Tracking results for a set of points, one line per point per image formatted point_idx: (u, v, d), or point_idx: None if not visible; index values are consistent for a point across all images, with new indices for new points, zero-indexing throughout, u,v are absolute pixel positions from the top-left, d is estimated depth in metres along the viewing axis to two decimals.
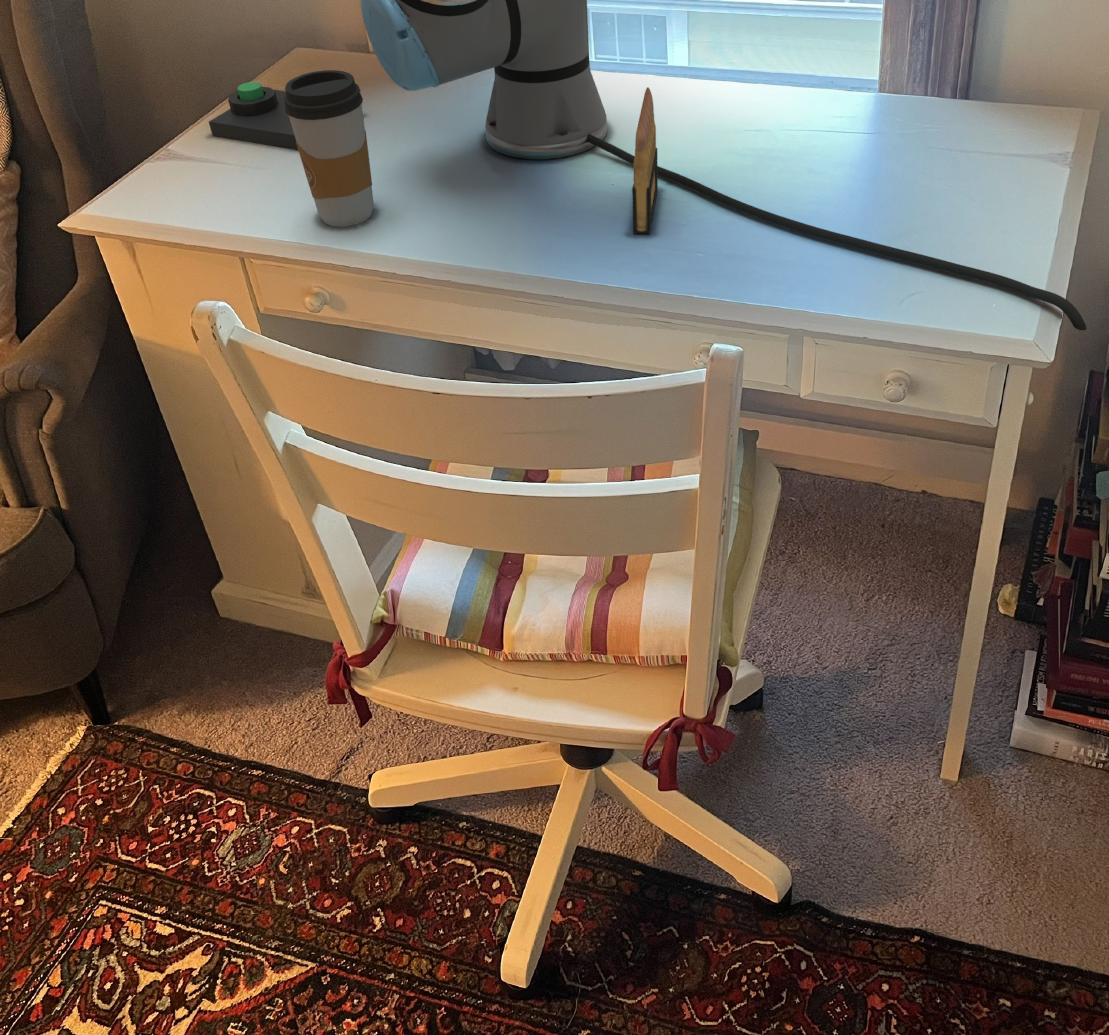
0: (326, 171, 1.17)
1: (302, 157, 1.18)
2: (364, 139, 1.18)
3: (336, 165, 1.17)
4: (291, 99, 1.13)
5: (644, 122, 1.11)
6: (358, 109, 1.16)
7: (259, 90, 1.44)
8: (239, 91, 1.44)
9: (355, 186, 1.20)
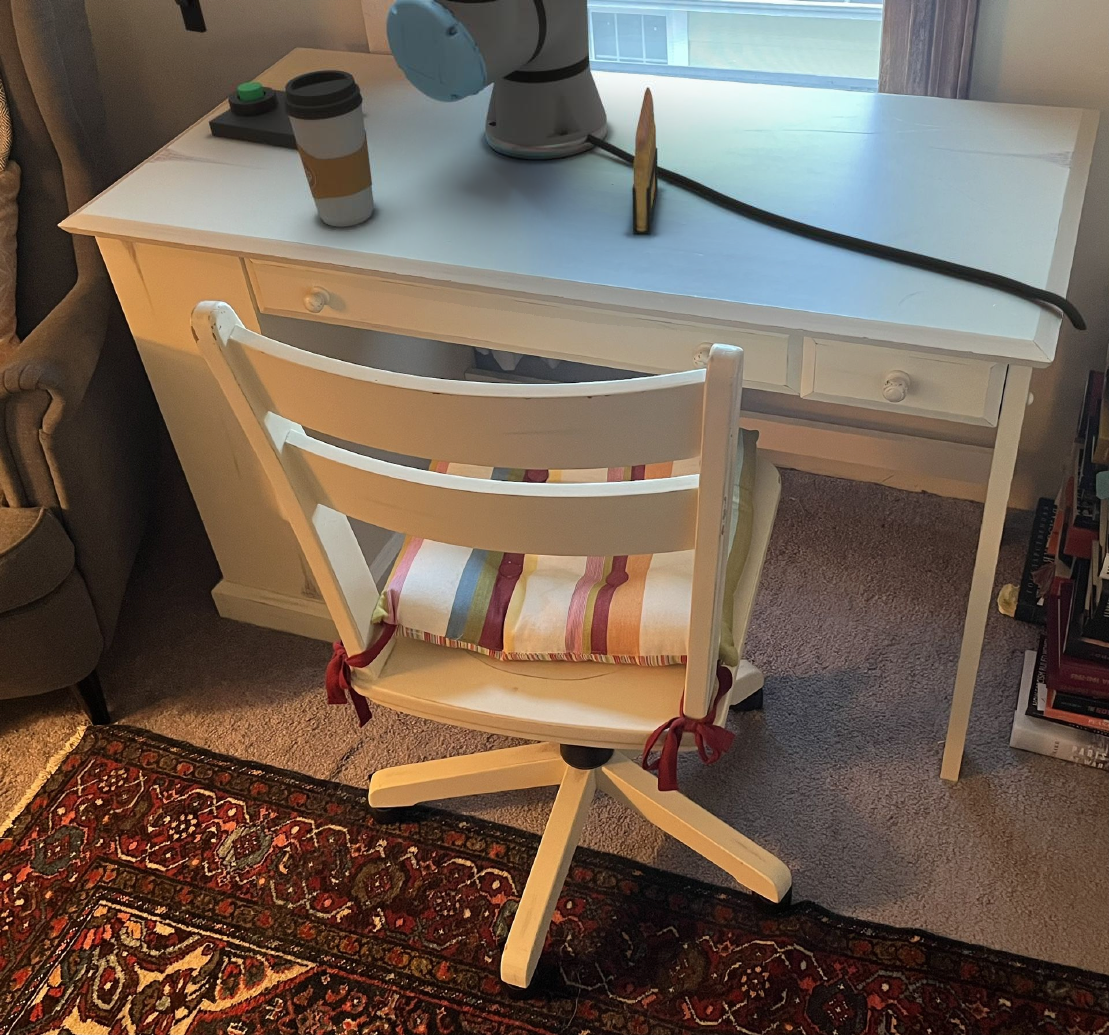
0: (326, 171, 1.17)
1: (302, 157, 1.18)
2: (364, 139, 1.18)
3: (336, 165, 1.17)
4: (291, 99, 1.13)
5: (644, 122, 1.11)
6: (358, 109, 1.16)
7: (259, 90, 1.44)
8: (239, 91, 1.44)
9: (355, 186, 1.20)
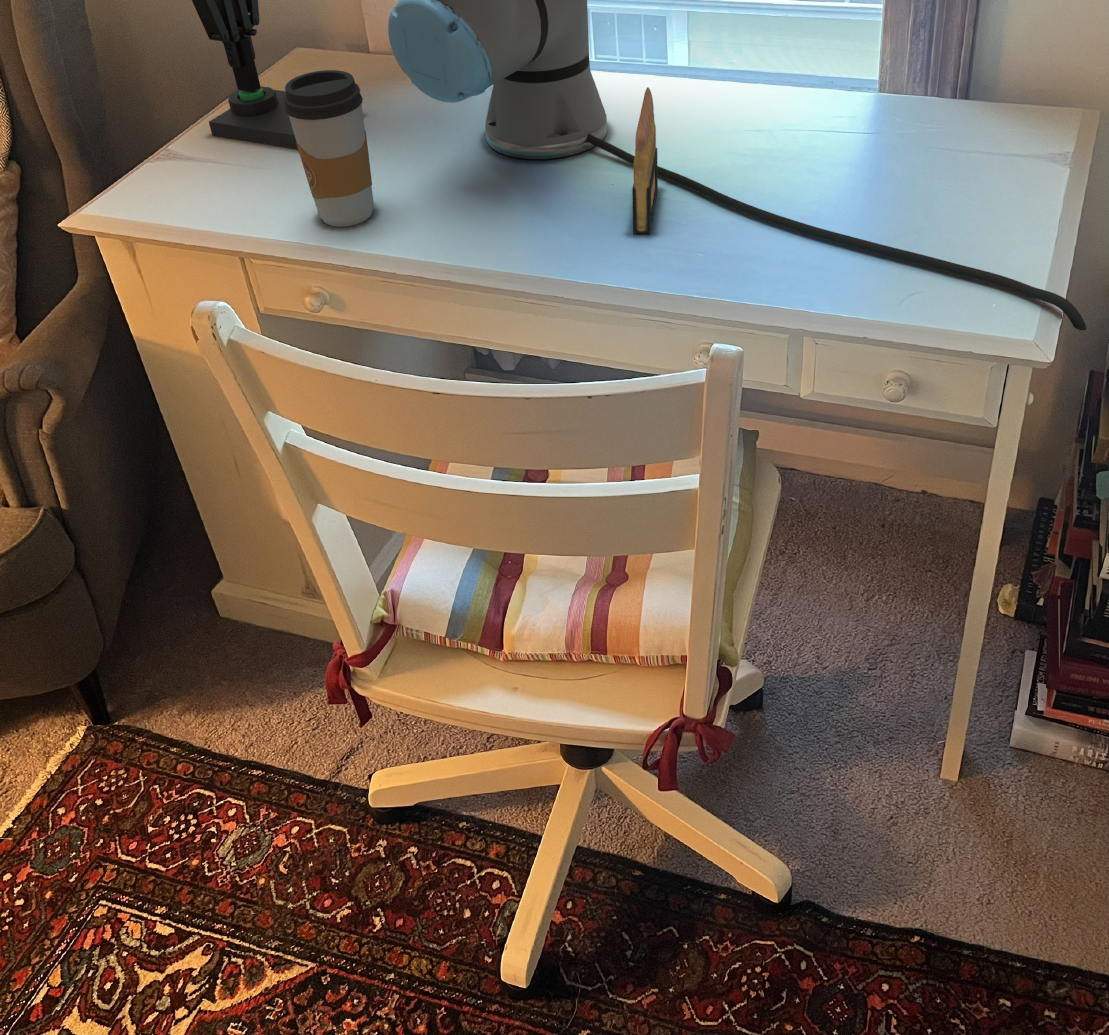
0: (326, 171, 1.17)
1: (302, 157, 1.18)
2: (364, 139, 1.18)
3: (336, 165, 1.17)
4: (291, 99, 1.13)
5: (644, 122, 1.11)
6: (358, 109, 1.16)
7: (260, 95, 1.44)
8: (240, 96, 1.44)
9: (355, 186, 1.20)
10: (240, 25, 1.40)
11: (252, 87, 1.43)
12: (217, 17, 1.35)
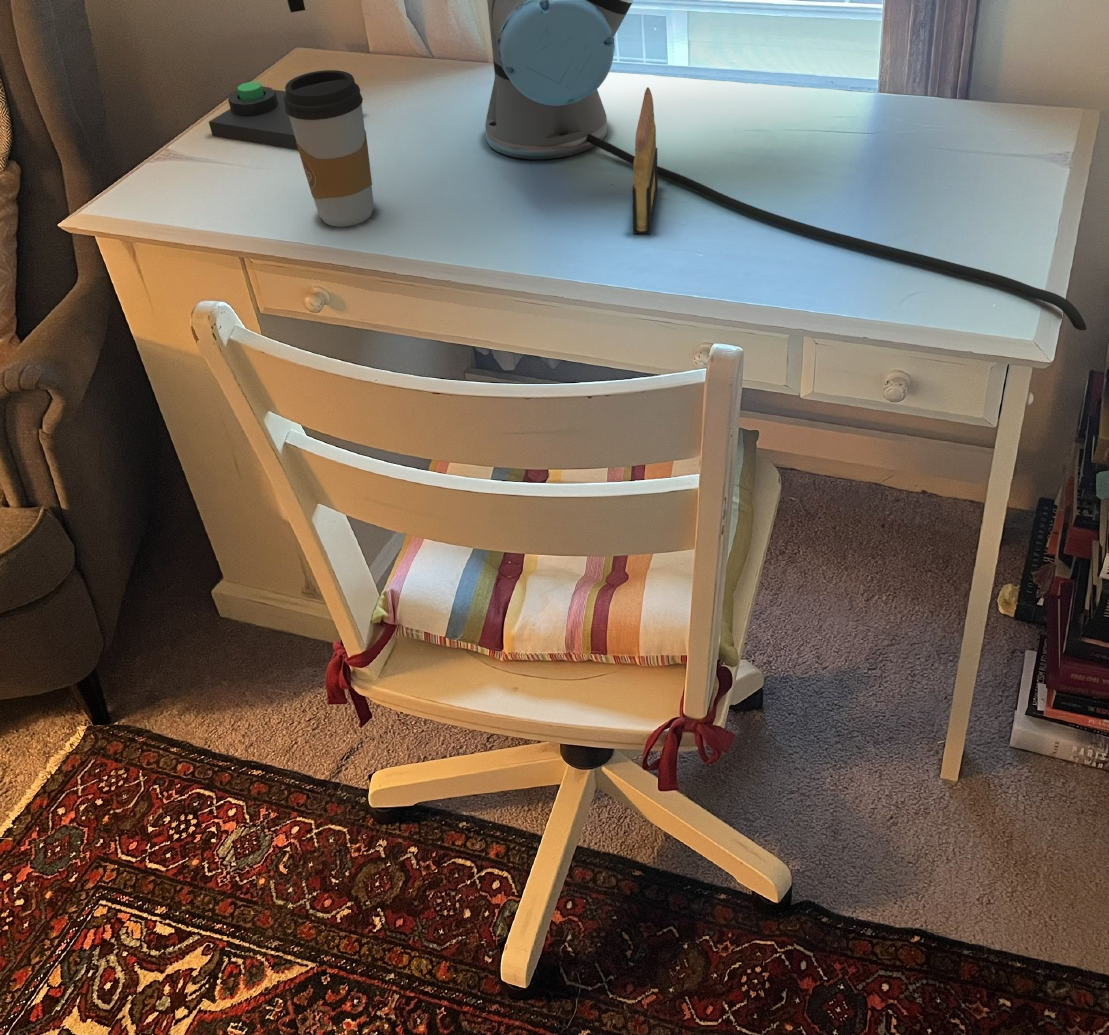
0: (326, 171, 1.17)
1: (302, 157, 1.18)
2: (364, 139, 1.18)
3: (336, 165, 1.17)
4: (291, 99, 1.13)
5: (644, 122, 1.11)
6: (358, 109, 1.16)
7: (259, 90, 1.44)
8: (239, 91, 1.44)
9: (355, 186, 1.20)
10: None
11: (289, 6, 1.10)
12: None
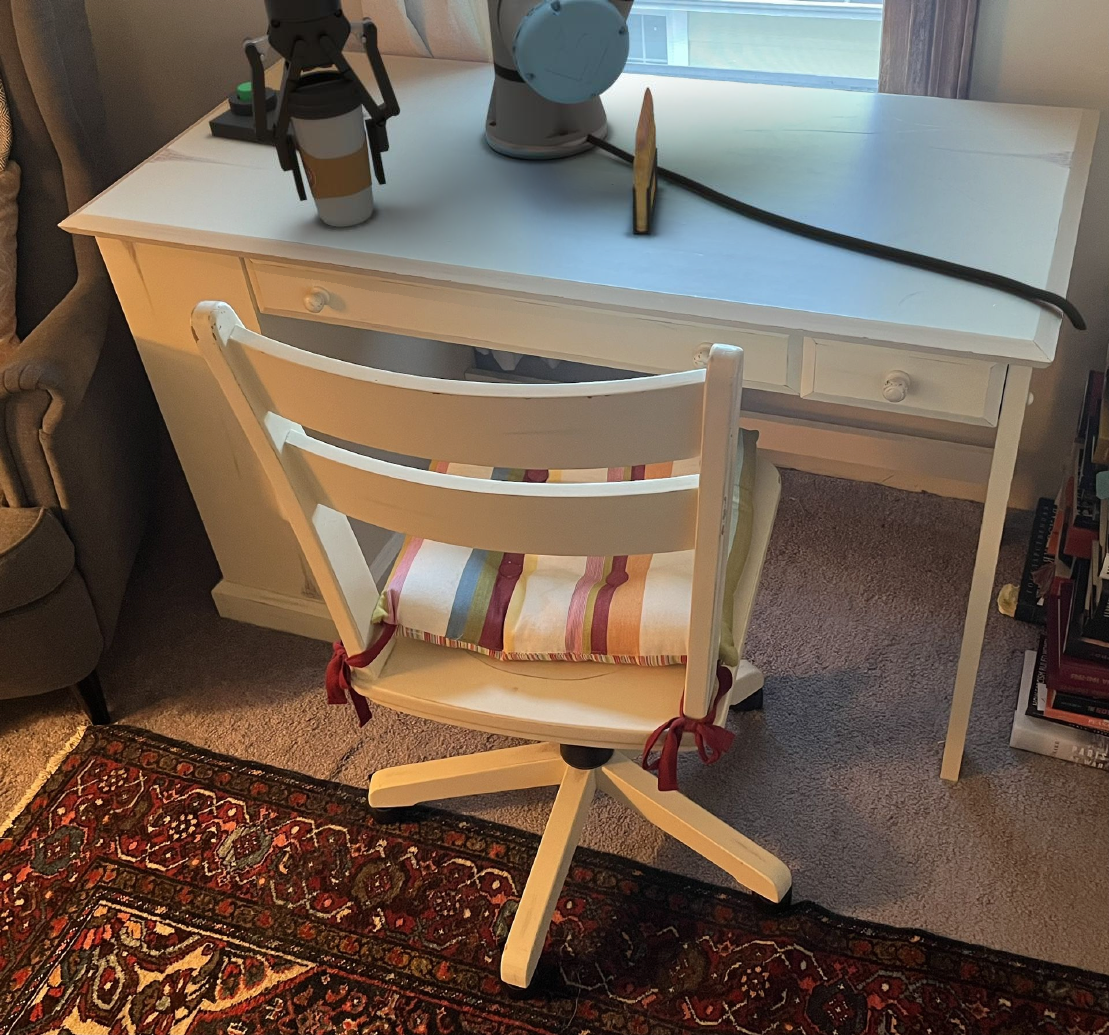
0: (326, 171, 1.17)
1: (302, 157, 1.18)
2: (364, 139, 1.18)
3: (336, 165, 1.17)
4: (291, 99, 1.13)
5: (644, 122, 1.11)
6: (358, 109, 1.16)
7: None
8: (239, 91, 1.44)
9: (355, 186, 1.20)
10: None
11: (299, 195, 1.20)
12: (259, 111, 1.13)
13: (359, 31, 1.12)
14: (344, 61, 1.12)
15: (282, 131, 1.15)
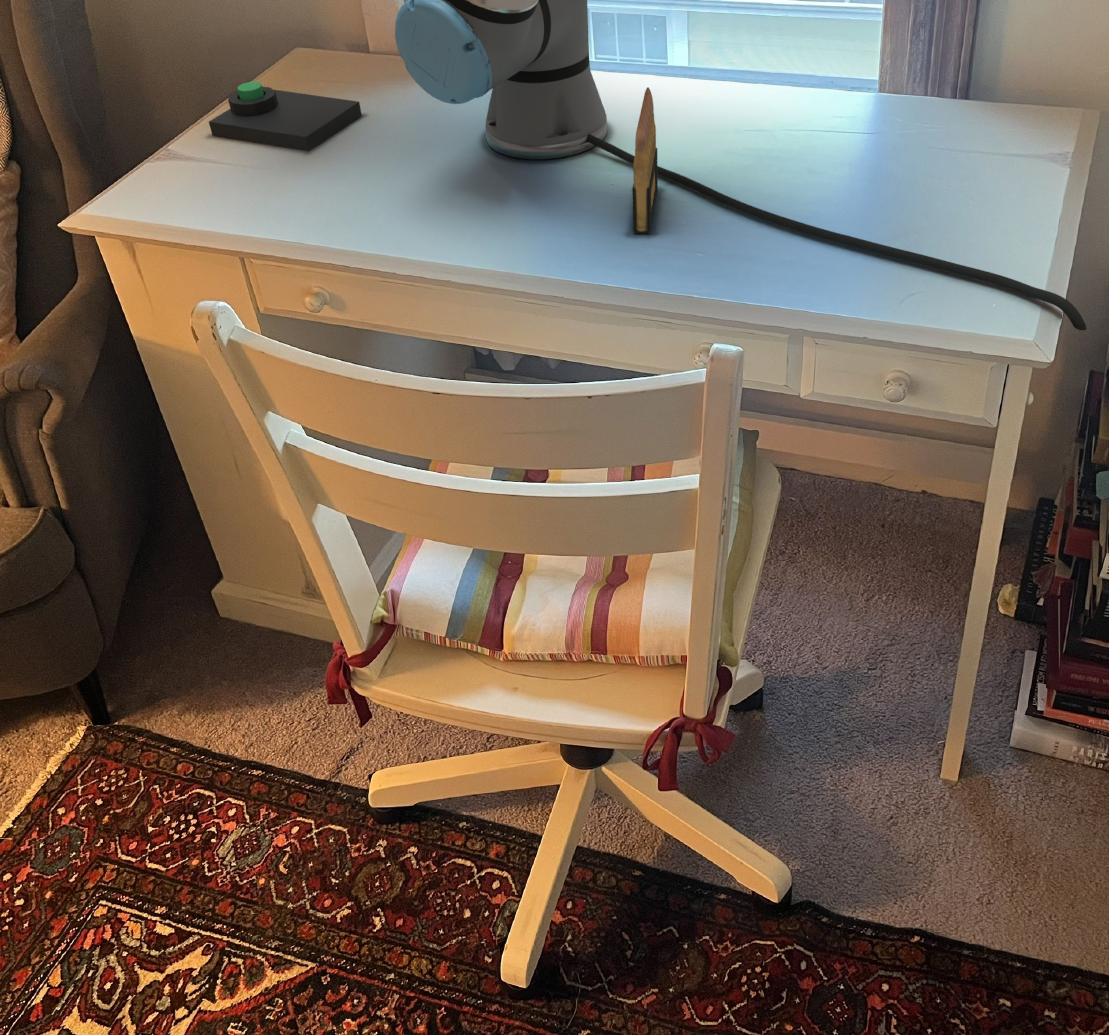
0: None
1: None
2: None
3: None
4: None
5: (644, 122, 1.11)
6: None
7: (259, 90, 1.44)
8: (239, 91, 1.44)
9: None
10: None
11: None
12: None
13: None
14: None
15: None
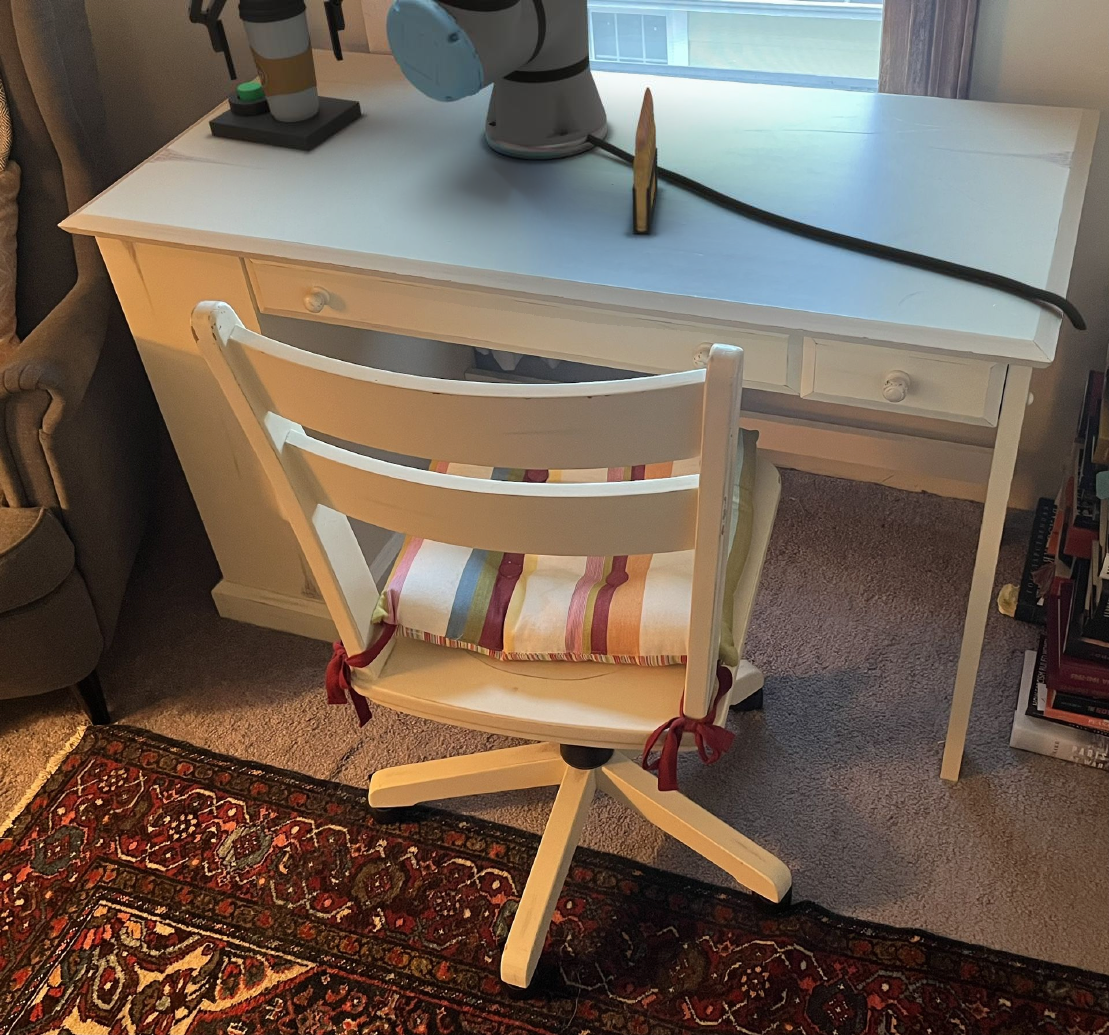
0: (275, 69, 1.36)
1: (255, 58, 1.37)
2: (308, 43, 1.37)
3: (284, 64, 1.36)
4: (243, 5, 1.32)
5: (644, 122, 1.11)
6: (302, 15, 1.34)
7: (259, 90, 1.44)
8: (239, 91, 1.44)
9: (301, 85, 1.38)
10: None
11: (230, 75, 1.37)
12: None
13: None
14: None
15: (214, 15, 1.32)
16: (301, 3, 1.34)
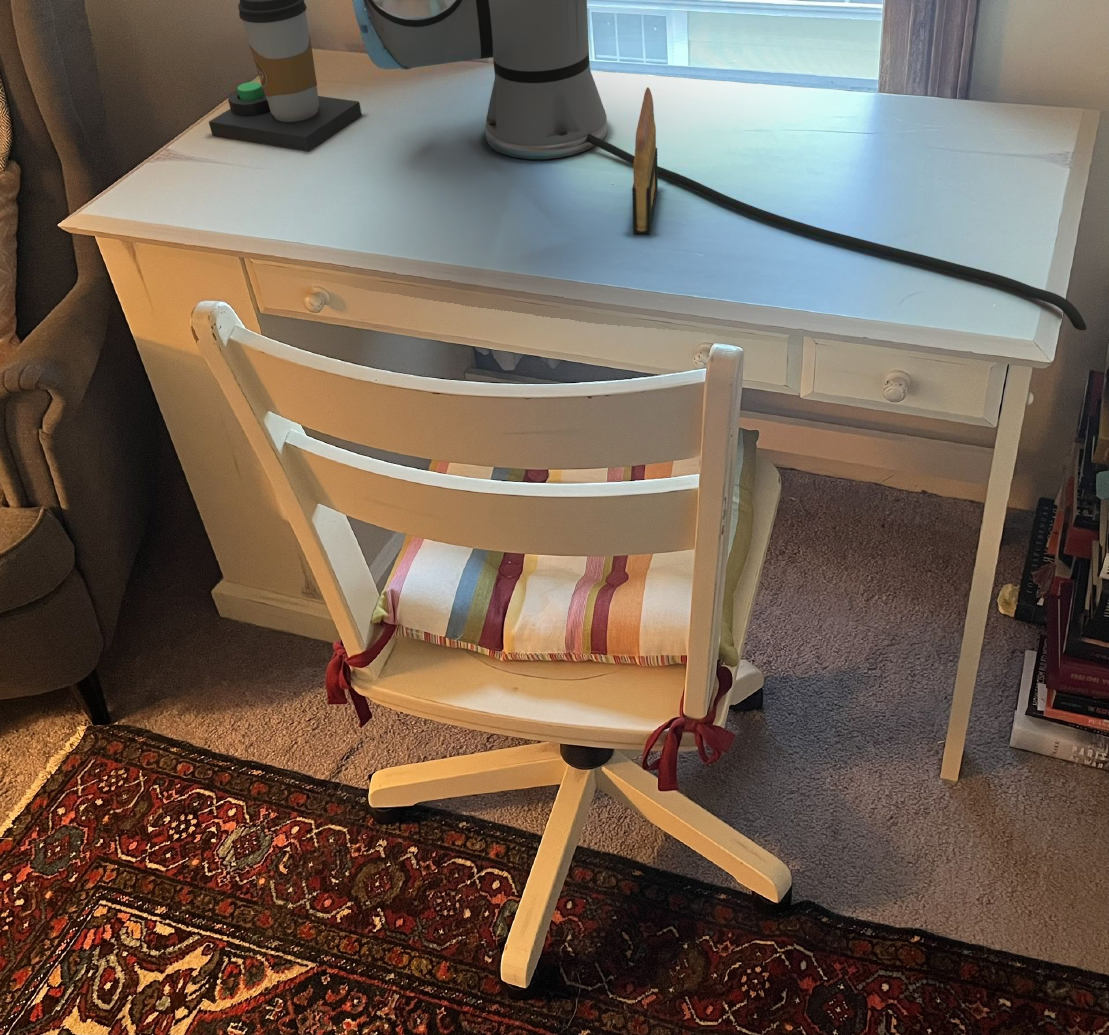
0: (275, 69, 1.36)
1: (255, 58, 1.37)
2: (308, 43, 1.37)
3: (284, 64, 1.36)
4: (244, 5, 1.32)
5: (644, 122, 1.11)
6: (302, 15, 1.34)
7: (259, 90, 1.44)
8: (239, 91, 1.44)
9: (301, 85, 1.38)
10: None
11: None
12: None
13: None
14: None
15: None
16: (301, 3, 1.34)
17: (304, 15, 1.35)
